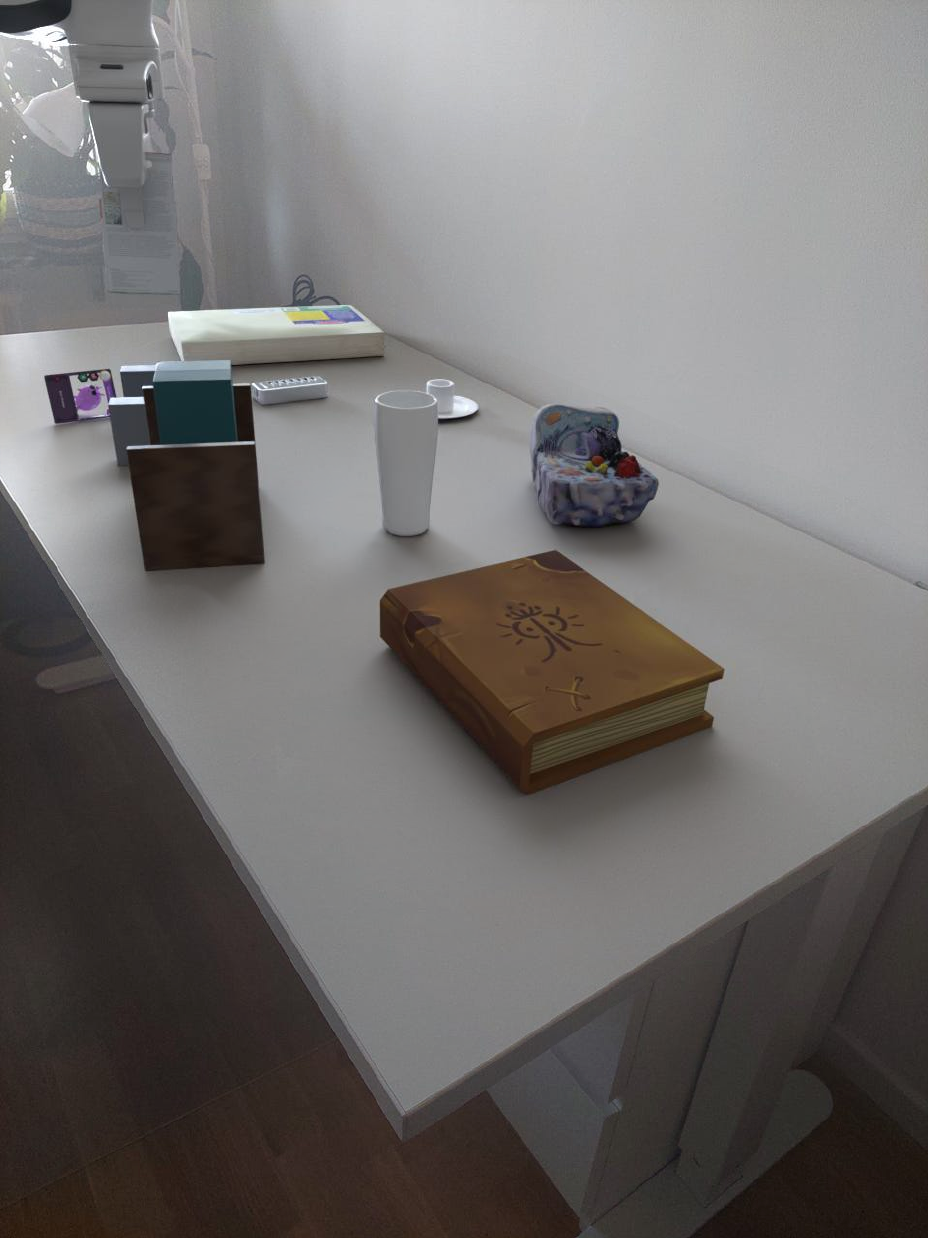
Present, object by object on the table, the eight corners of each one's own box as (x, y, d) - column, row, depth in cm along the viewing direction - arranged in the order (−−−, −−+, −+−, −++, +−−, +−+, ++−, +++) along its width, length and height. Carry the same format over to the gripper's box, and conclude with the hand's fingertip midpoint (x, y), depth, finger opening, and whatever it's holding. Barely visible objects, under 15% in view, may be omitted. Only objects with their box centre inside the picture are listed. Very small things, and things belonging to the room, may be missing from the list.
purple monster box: (44, 374, 130) (111, 367, 134) (40, 378, 135) (105, 371, 139) (55, 423, 132) (121, 415, 136) (51, 425, 136) (115, 417, 140)
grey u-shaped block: (117, 465, 120) (108, 404, 116) (130, 420, 135) (121, 365, 131) (174, 463, 121) (166, 402, 117) (180, 419, 136) (173, 364, 132)
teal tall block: (170, 513, 105) (152, 381, 98) (173, 486, 112) (157, 361, 104) (242, 509, 107) (230, 379, 99) (241, 483, 114) (230, 359, 106)
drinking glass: (396, 546, 102) (396, 412, 95) (365, 524, 107) (362, 395, 99) (447, 532, 106) (451, 402, 98) (414, 511, 110) (415, 386, 103)
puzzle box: (169, 336, 178) (182, 368, 159) (166, 311, 176) (178, 341, 156) (354, 327, 189) (387, 357, 170) (354, 304, 187) (387, 331, 168)
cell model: (607, 390, 118) (676, 447, 102) (597, 469, 124) (661, 536, 108) (509, 393, 115) (564, 453, 99) (503, 475, 121) (554, 544, 105)
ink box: (106, 287, 107) (94, 144, 100) (179, 290, 109) (172, 151, 102) (106, 293, 104) (94, 147, 97) (181, 296, 106) (174, 154, 99)
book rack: (144, 571, 95) (126, 449, 89) (157, 492, 113) (142, 385, 106) (264, 563, 98) (255, 444, 91) (259, 487, 115) (250, 382, 109)
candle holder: (384, 407, 144) (384, 379, 142) (443, 394, 151) (444, 367, 149) (434, 428, 137) (434, 399, 135) (493, 413, 144) (495, 385, 142)
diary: (380, 647, 84) (379, 590, 81) (550, 602, 93) (555, 549, 90) (519, 798, 67) (524, 734, 64) (712, 726, 76) (725, 666, 73)
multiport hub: (328, 397, 148) (328, 382, 147) (261, 405, 143) (260, 390, 142) (318, 389, 151) (318, 375, 150) (252, 397, 147) (251, 382, 146)
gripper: (97, 77, 104) (116, 211, 111) (73, 79, 87) (98, 238, 94) (156, 79, 106) (171, 211, 112) (144, 81, 88) (163, 238, 95)
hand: (138, 224), depth 103 cm, fingers closed on ink box, 4 cm apart
